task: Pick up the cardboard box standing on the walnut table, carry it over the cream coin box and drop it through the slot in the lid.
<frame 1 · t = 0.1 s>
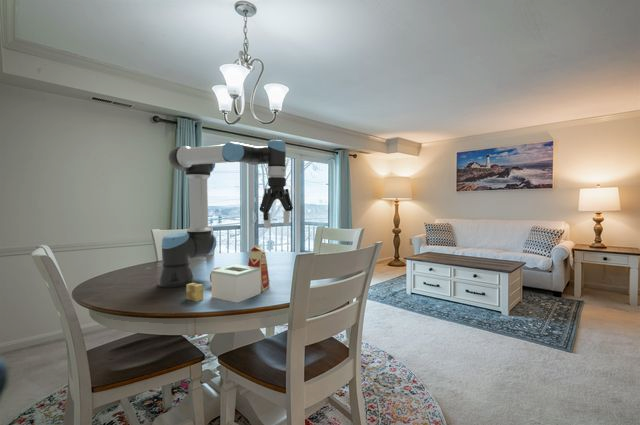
hand: (277, 226, 143), 28 cm above the table, fingers open, 13 cm apart
cardboard box: (194, 299, 133), on the table
coin box: (236, 295, 138), on the table
milk carton: (257, 288, 150), on the table
egg: (218, 286, 153), on the table
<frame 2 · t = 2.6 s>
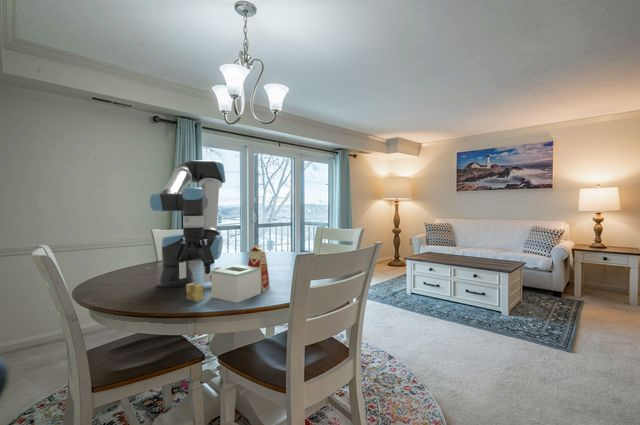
hand: (194, 280, 132), 8 cm above the table, fingers open, 13 cm apart
nothing on the table moved.
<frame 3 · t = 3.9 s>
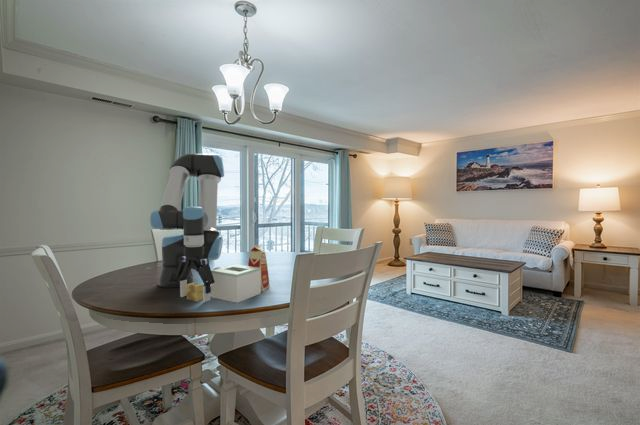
hand: (194, 298, 133), 0 cm above the table, fingers open, 12 cm apart
nothing on the table moved.
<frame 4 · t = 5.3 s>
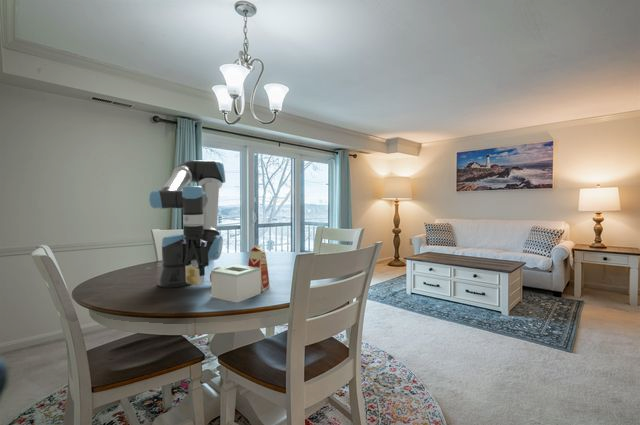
hand: (194, 282, 134), 7 cm above the table, fingers closed on cardboard box, 6 cm apart
cardboard box: (194, 283, 134), point 6 cm above the table, touching gripper
everything else where it was.
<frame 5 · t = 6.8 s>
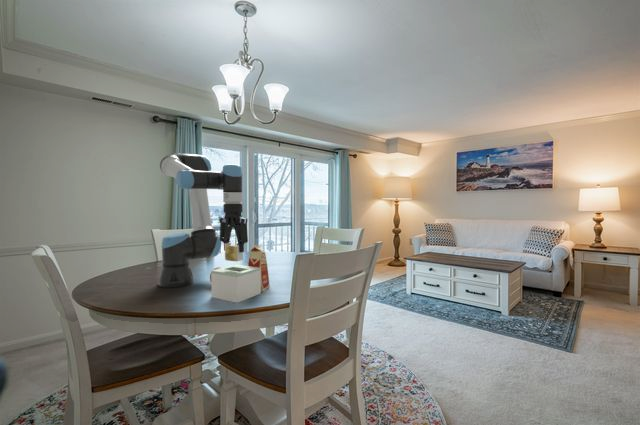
hand: (233, 259, 137), 15 cm above the table, fingers closed on cardboard box, 6 cm apart
cardboard box: (233, 260, 137), point 15 cm above the table, touching gripper
everything else where it was.
when the fingers open (12 cm above the table, at t = 8.2 s): cardboard box drops 12 cm, resting in coin box.
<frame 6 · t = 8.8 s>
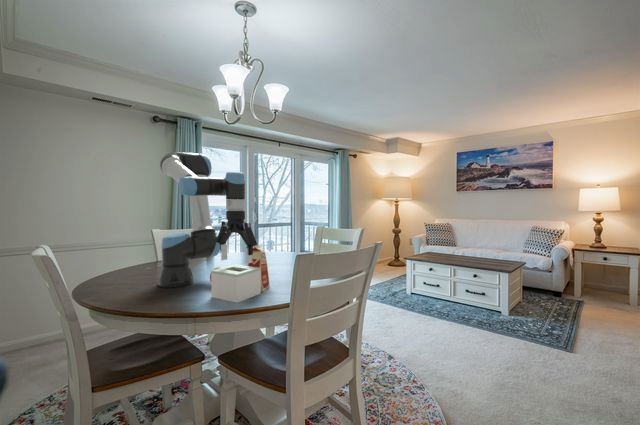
hand: (236, 261, 138), 14 cm above the table, fingers open, 13 cm apart
cardboard box: (236, 295, 138), resting in coin box
everything else where it was.
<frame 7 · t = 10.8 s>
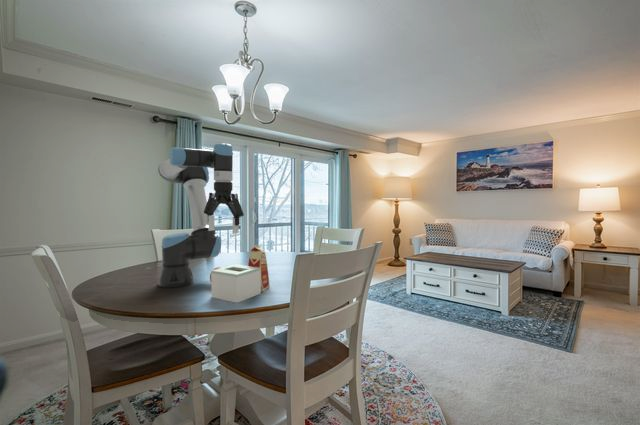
hand: (223, 231, 141), 26 cm above the table, fingers open, 13 cm apart
nothing on the table moved.
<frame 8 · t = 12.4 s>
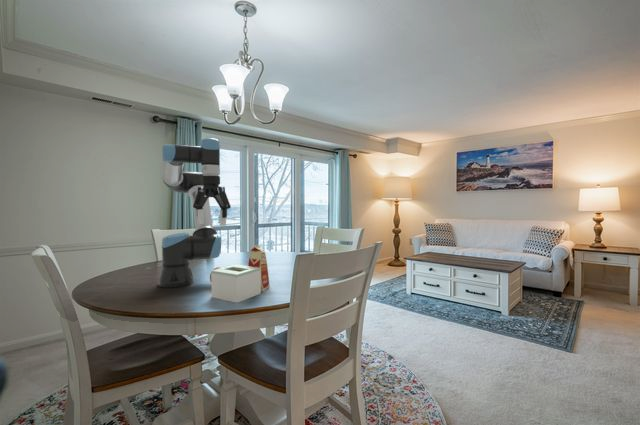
hand: (211, 225, 144), 29 cm above the table, fingers open, 13 cm apart
nothing on the table moved.
at the end: cardboard box inside the target area on the coin box (0.2 cm from its centre), point 0.0 cm above the coin box's base; the gripper is holding nothing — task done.
